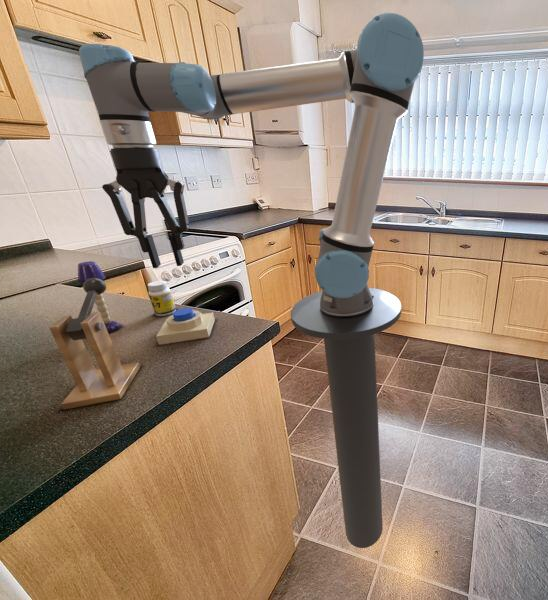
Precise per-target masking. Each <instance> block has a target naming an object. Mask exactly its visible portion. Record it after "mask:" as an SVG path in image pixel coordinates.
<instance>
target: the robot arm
mask: <svg viewBox="0 0 548 600" xmlns="http://www.w3.org/2000/svg"><path fill="white" fill-rule="evenodd" d="M356 45H357V46H356V48H355V49H352V50H346V51H342V52H341V54H340V55H339V56H338V58H332V59H331V58H329V59H323V60H315V61H308V62H301V63H293V64H292V63H291V64H286V65H278V66H271V67H261V68H256V69H249V70H240V71H233V72H225V73H220V74H211V75H210V74H209V73H208V71H207V69H206V68H205V67H203V65H201V64H195V63H186V62H184V61H179V62H141V61H139V62H138V61H136V60H135V58H134V57H133V54H132V53H131V52H130V51H129V50H127V49H125V48H123V47H120V46H116V45H111V44H102V43H86V44H85V43H84V44H82V45H81V46H80V47H79V49H78V54H79V58H80V61H81V66H82V70H83V77H84V79H85V80H86V82H87V85H88V88H89V91H90V94H91V96H92V99H93V102H94V105H95V109H96V111H97V115H98V118H99V122H100V125H101V128H102V132H103V134H104V137H105V141H106V143H107V144H108V145H109V146H112V148H110V150H109V153H110V156H111V158H112V162H113V165H114V168H115V171H116V177H115V180H113V181H112V182H110V183H104V184H102V186H101V187H102V190H103V191H104V193H106V195H107V196H108V197H109V199H110V201H111V203H112V206H113V208H114V211H115V213H116V215H117V218H118V221H119V224H120V226H121V228H122V231H123V233H124V235H126V236H133V237H136V238H137V240H138V243H139V246H140V248H141V249H140V250H141V251H142V253H144V254H145V253H147V254H148V257H149V260H150V263H151V266H152V269H158V268H159V267H160V266H161V264H162V263H161V260H160V257H159V254H158V250H157V247H156V245H155V241H154V238H153V234H149V232H148V230H147V218H146V207H145V201H146V198H149V199H153V202H154V203H156V205H157V207H158V209H159V212H160V213H161V215H162V217H163V219H164V221H165V222H166V224H167V227H168V229H169V231H170V232H171V233H170V234H169V235H168V239H169V243H170V247H171V250H172V254H173V257H174V261H175V264H176V266H177V267H181V266H182V265H183V264H184V263H185V261H184V257H183V254H182V250H184V248H185V243H184V238H183V233H185V232H187V231H188V230H189V229H190V227H191V226H190V223H189V222H190V221H189V216H188V212H187V207H186V201H185V197H184V190H185V182H184V181H182V180H179V181H177V180H175V179H172V178H169V175H168V174H166V172H165V170H164V166H163V162H162V159H161V155H160V152H159V150H158V149H157V148H155V147H154V146H156V145H157V140H156V137H155V133H154V130H153V126H152V123H151V118H150V115H149V112H167V113H168V112H170V113H184V114H187V115H191V116H196V117H200V118H202V119H204V120H210V121H211V120H220V119H222V118H224V117H226V116H231V115H237V114H246V113H253V112H259V111H268V110H273V109H281V108H289V107H296V106H303V105H311V104H317V103H318V104H319V103H325V102H331V101H338V100H346V101H348V102H349V103H350V104H354V111H353V112H354V113H353V115H352V120H351V127H350V131H349V136H348V137H349V138H348V140H347V141H348V142H347V146H346V151H345V156H344V162H343V166H342V172H341V177H340V181H339V187H338V190H337V191H338V192H337V196H336V202H335V207H334V212H333V217H332V222H331V225H330V226H328V227H325V228H322V229H320V230H319V232H318V241H319V252H318V256H317V261H316V263H315V266H314V274H315V276H314V278H315V281H316V283H317V285H318V287H319V288H320V290H321V291H322V295H321V300H320V310H321V312H322V313H323V314H324V315H326V316H329V317H333V318H353V317H358V316H361V315H364V314H366V313H368V312H369V311H371V310H372V308H373V298H374V296H373V295H371V292H370V290H369V288H370V287H369V285H368V281H369V278H370V270H369V267H370V262H371V258H372V255H373V254H372V253H373V250H374V246H375V242H374V240H373V238H372V237H371V230H372V225H373V221H374V218H375V213H376V210H377V206H378V201H379V197H380V193H381V188H382V185H383V181H384V176H385V172H386V169H387V163H388V160H389V156H390V152H391V147H392V144H393V140H394V135H395V132H396V127H397V123H398V121H399V119H401V118H402V117H403V116H405V115H406V114H407V113H408V110H409V105H410V102H411V99H412V95H413V90H414V87H415V83H416V82H417V79H418V78H419V77H420V74H421V72H422V70H423V64H424V57H425V51H424V44H423V40H422V37H421V35H420V33H419V31H418V29H417V27H416V26H415V25H414V24H413V23H412V22H411V20H409V18H407V17H405V16H403V15H401V14H399V13H395V12H383V13H380V14H377V15H375V16H373V17H372V18H371V19H370V20H369V21H368V22H367V23H366V24H365V25H364V27H363V29H362V30H361V32H360V34H359V36H358V40H357V44H356ZM167 186H169V189H170V191H171V192H173V199H174V205H175V209H176V213H177V218H178V221H177V219H176V217H175V214H174V213H173V211H172V209H171V207H170V204H169V203H168V201H167V197H166V195H165V193H164V192H165V191H166V188H167ZM121 187H122V188H123V189H124V190H125V191H126V192H127V193H129V194H130V199H131V203H132V210H133V211H132V212H133V219H132V216H131V214H130V211H129V208H128V206H127V204H126V202H125V201H126V200H125V199H124V196H123V194H122V191H123V190H122V188H121ZM133 220H134V221H133Z"/></svg>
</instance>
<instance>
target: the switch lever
mask: <svg viewBox="0 0 548 600" xmlns="http://www.w3.org/2000/svg"><path fill="white" fill-rule="evenodd" d="M82 288H83V291H84V292H85V293H86V295H85V298H84V300H83V303H82V305H81V308H80V311H79V313H78V316H77V317H76V318H75V317H74V318H72V319H70V321H69V323H68V326H67V328H66V331H65V333H66V334H67V335H68V336H69V337H70V338H71V339H72V340H81V339H82V340H87V338H86V336H85V333H84V331H83V329H82V327H81V324H80V323H82V322H83V321H84V320H85V319H86V318H87V317H88V316H89V315H90V314H92V311H93V309H94V306H95V300H96V297H97V295H100V294H104V293H105V292H106V290H107V283H106V282H105V281H104V279H103V280H101V279H98V278H91V279H88V280H86V281H85V282H84V283H82Z"/></svg>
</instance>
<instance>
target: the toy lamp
mask: <svg viewBox="0 0 548 600" xmlns="http://www.w3.org/2000/svg"><path fill="white" fill-rule="evenodd" d="M91 278H98V279H101V280H103V281H104V280H105V279H106V275H105V274H104V272H103V270H102V268H100V266H99V265H98V264H97V262H96V261H92V260H91V261H83V262H80V263H78V264H77V281H78V282H79V283H80V284H84V282H85V281H86V280H88V279H91ZM103 294H104V293H102V294H100V295H97V297H96V300H95V303H94V305H96V309H97V312H100V314H101V317H102V319H103V322H104V324H105V326H106V329H107V331H108V334H110V333H113V332H115V331H118V330H119V329H121V324H120V323H119V322H118V321H116V320H112V317H110V312H109V310H108V306H107V304H106V300H105V299H104V295H103Z"/></svg>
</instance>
